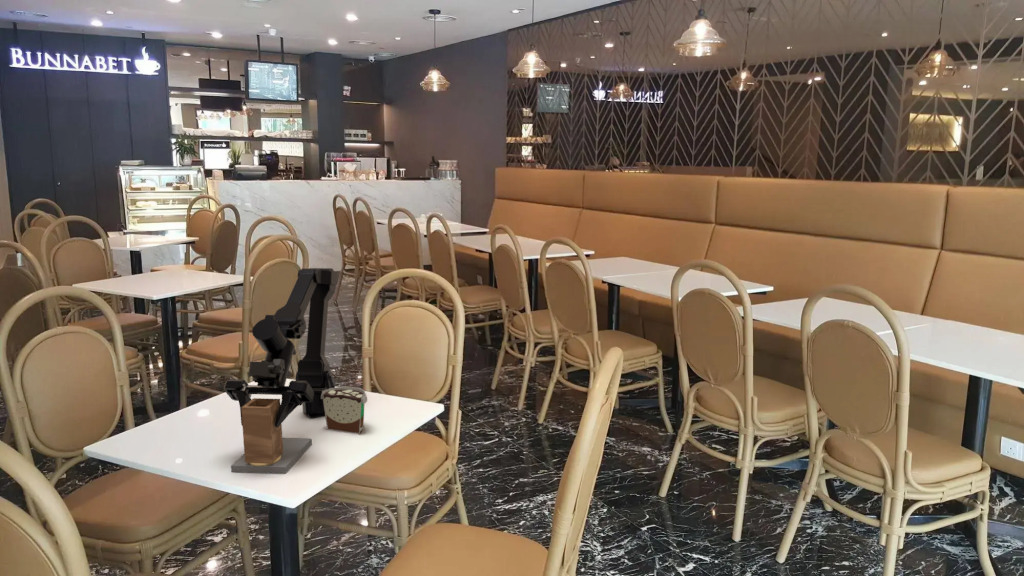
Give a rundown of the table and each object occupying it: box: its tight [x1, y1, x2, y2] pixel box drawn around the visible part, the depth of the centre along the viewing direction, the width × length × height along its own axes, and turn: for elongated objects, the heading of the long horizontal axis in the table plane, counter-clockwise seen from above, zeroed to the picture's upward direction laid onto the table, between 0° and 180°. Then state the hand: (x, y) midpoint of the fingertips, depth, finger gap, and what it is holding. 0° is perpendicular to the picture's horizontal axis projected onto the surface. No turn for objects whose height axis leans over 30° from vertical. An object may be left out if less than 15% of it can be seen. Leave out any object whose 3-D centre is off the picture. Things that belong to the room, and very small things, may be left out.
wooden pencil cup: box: [241, 398, 283, 464], centre depth 151 cm, size 6×6×12 cm
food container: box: [321, 386, 368, 435], centre depth 174 cm, size 12×6×10 cm, turn 71°
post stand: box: [230, 437, 313, 475], centre depth 156 cm, size 16×12×5 cm
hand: (259, 426), depth 149 cm, fingers open, 7 cm apart
